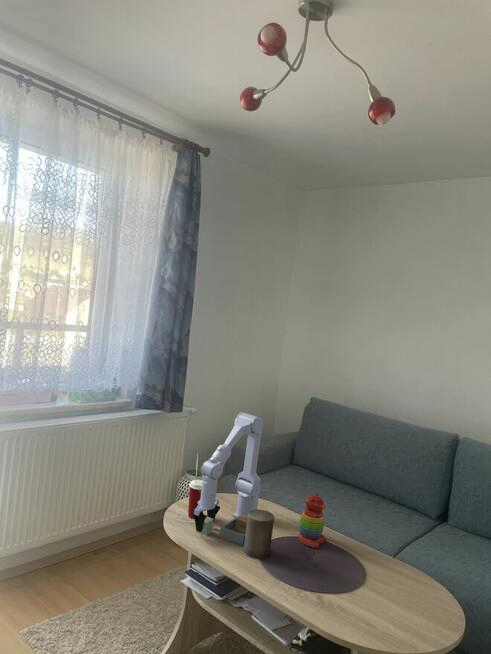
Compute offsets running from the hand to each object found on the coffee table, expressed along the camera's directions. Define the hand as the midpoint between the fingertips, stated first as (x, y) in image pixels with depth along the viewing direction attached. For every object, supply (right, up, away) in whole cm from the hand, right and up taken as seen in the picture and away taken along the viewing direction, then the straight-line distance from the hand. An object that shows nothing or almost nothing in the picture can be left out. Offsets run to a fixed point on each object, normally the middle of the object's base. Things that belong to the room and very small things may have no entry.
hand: (204, 527), depth 184 cm
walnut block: (+15, -3, +3) cm, 15 cm away
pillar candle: (+20, -5, -10) cm, 23 cm away
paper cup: (-5, -1, +12) cm, 13 cm away
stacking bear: (+41, -7, +3) cm, 42 cm away
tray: (+13, -3, 0) cm, 14 cm away
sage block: (0, -2, 0) cm, 2 cm away
